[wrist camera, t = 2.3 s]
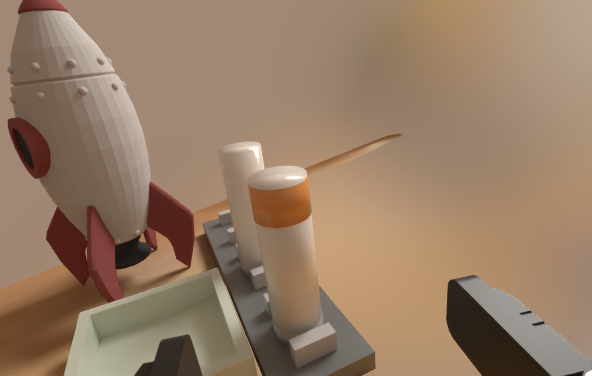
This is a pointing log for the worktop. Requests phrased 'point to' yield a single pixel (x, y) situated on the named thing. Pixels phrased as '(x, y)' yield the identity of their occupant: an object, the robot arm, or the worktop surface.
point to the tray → (162, 330)
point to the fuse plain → (242, 198)
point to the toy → (87, 151)
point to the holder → (259, 329)
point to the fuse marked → (287, 249)
